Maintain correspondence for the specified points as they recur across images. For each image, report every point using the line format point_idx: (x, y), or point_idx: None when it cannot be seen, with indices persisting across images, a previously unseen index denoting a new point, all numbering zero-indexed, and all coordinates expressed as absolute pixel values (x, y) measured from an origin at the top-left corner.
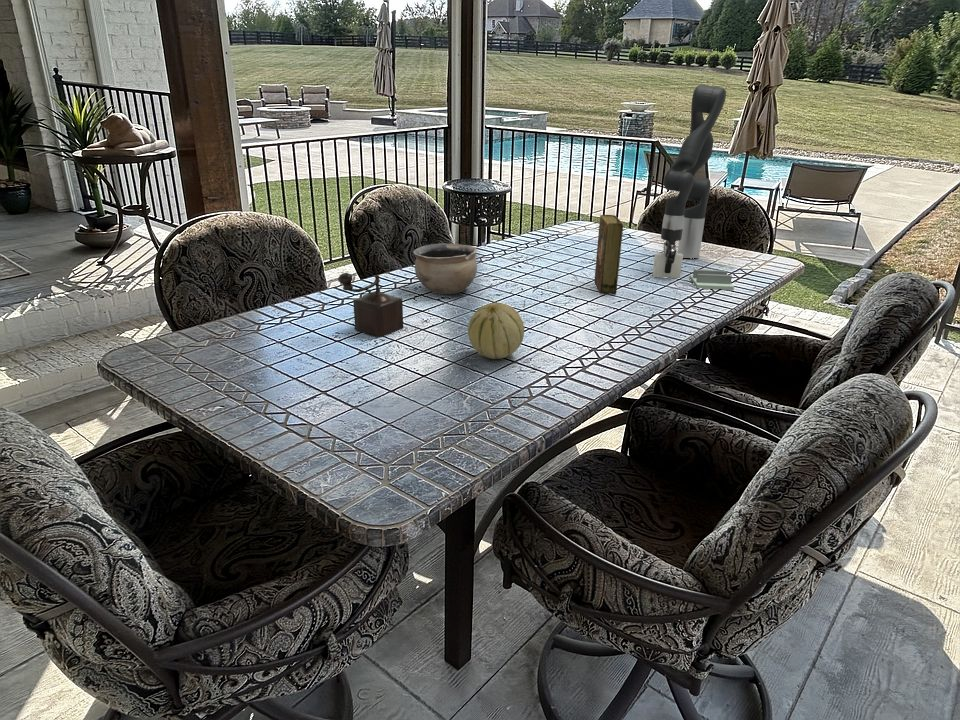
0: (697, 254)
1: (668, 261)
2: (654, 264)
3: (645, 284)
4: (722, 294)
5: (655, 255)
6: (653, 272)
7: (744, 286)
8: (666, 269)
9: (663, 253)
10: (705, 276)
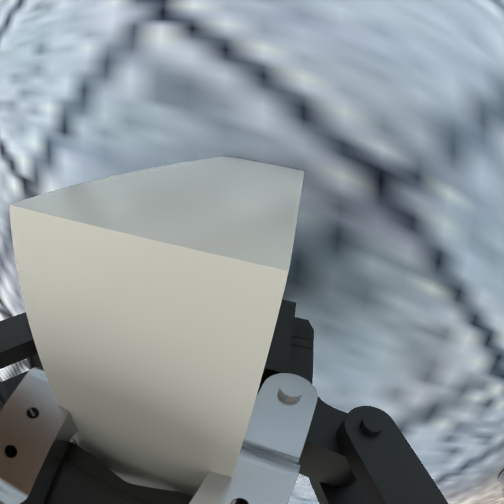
0: (502, 489)
1: (18, 328)
2: (204, 170)
3: (53, 63)
4: (19, 370)
5: (121, 204)
6: (237, 162)
7: None
8: None
9: (170, 451)
10: None
